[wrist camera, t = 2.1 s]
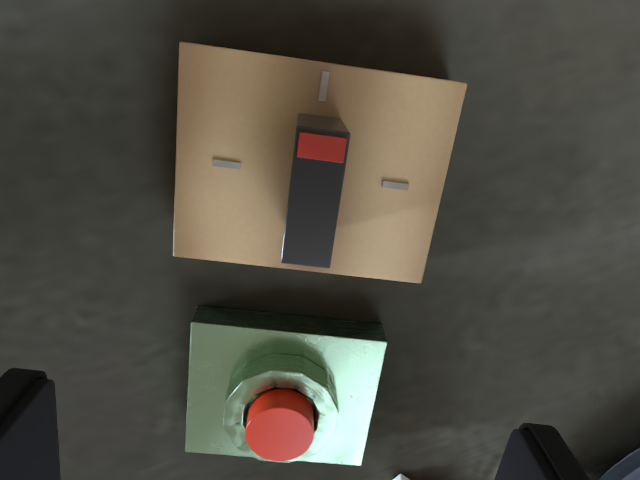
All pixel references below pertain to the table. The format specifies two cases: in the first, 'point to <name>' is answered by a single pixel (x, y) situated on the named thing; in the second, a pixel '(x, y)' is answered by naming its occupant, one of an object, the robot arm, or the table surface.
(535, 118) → the table surface
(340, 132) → the dimmer knob
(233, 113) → the panel
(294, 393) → the power button
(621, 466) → the electronic game
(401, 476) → the white plastic frame
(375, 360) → the switch box
